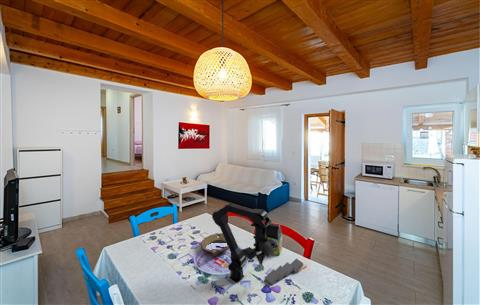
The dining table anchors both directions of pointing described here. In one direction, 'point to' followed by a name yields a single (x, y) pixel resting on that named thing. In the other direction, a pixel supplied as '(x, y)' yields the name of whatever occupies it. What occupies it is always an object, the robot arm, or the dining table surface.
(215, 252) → the olive oval ring
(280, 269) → the domino
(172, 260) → the dining table surface
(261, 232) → the robot arm
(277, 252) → the chalk box
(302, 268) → the tan rectangular block
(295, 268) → the domino
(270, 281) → the domino
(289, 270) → the domino
